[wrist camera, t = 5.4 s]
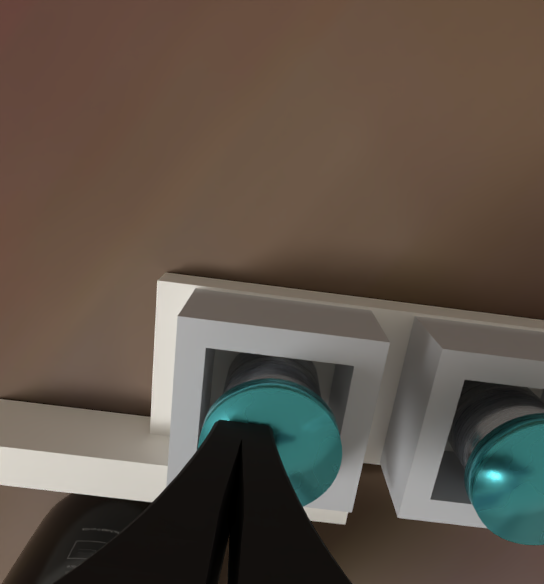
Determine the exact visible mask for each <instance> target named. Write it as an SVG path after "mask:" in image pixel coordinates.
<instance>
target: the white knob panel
mask: <svg viewBox="0 0 544 584" xmlns="http://www.w3.org/2000/svg"><path fill="white" fill-rule="evenodd" d="M240 352H244V353H252V354H260V355H268V356H277V357H285V358H293V359H301V360H309V361H312V362H313V364H314V366H315V368H316V371H317V375H318V381H319V387H320V393H321V398H322V399H323V400H324V401H325V403H326V404H327V405H328V406H329V408H330V409H331V411H332V413H333V415H334V416H335V419H336V422H337V425H338V429H339V434H340V439H341V444H342V462H341V466H340V470H339V472H338V474H337V477H336V479H335V480H334V482H333V483H332V485H331V486H330V487H329V488H328V490H327V491H326V492H325V493H324V494H322V495H321V496H320V497H319V498H317V499H316V500H314V501H313V502H311V503H309V504H307V505H306V506H303V508H304V510H305V512H306V514H307V516H308V518H309V519H310V521H318V522H326V523H335V524H344V525H345V524H346V519H347V515H348V512H351V513H352V510H353V505H354V501H355V496H356V492H357V487H358V483H359V479H360V474H361V470H362V465H363V463H368V464H377V465H381V468H382V471H383V474H384V477H385V480H386V483H387V486H388V489H389V492H390V495H391V498H392V501H393V505H394V508H395V511H396V514H397V517H398V518H403V519H412V520H420V521H429V522H438V523H446V524H455V525H463V526H472V527H481V528H487V527H486V526H485V525H484V524H483V522H482V521H481V519H480V518H479V516H478V514H477V513H476V511H475V509H474V507H473V505H472V503H471V502H470V500H469V498H468V495H467V493H466V489H465V484H464V473H465V469H464V467H463V466H462V464H461V462H460V461H459V459H458V457H457V455H456V454H455V452H454V450H453V449H452V447H451V445H450V444H449V442H448V440H447V439H448V436H449V432H450V429H451V425H452V422H453V418H454V415H455V411H456V408H457V404H458V401H459V398H460V394H461V391H462V387H463V384H464V380H472V381H480V382H488V383H496V384H504V385H513V386H521V387H528V388H529V389H530V390H531V391H532V392H533V393H534V394H535V395H537V396H538V397H539V398H540V399H541V400H542V401H543V402H544V320H539V319H531V318H523V317H515V316H507V315H500V314H492V313H484V312H476V311H468V310H460V309H452V308H444V307H436V306H428V305H420V304H412V303H404V302H396V301H389V300H381V299H373V298H365V297H357V296H349V295H341V294H333V293H325V292H317V291H309V290H301V289H293V288H285V287H278V286H270V285H262V284H254V283H246V282H238V281H230V280H222V279H214V278H206V277H198V276H190V275H182V274H174V273H167V272H165V273H164V274H163V275H162V276H161V277H160V278H159V279H158V280H157V300H156V320H155V340H154V360H153V380H152V400H151V417H147V416H139V415H131V414H122V413H114V412H105V411H97V410H89V409H80V408H72V407H64V406H55V405H47V404H38V403H30V402H22V401H13V400H5V399H0V485H6V486H15V487H24V488H32V489H41V490H50V491H58V492H67V493H76V494H84V495H93V496H102V497H110V498H119V499H128V500H136V501H145V502H153V501H154V500H155V499H156V498H157V497H158V496H159V495H160V494H161V492H162V491H163V490H164V489H165V488H166V487H167V486H168V485H169V484H170V483H171V482H172V480H173V479H174V478H175V477H176V476H177V475H178V474H179V473H180V471H181V470H182V469H183V468H184V466H185V465H186V464H187V463H188V461H189V460H190V459H191V458H192V456H193V455H194V454H195V452H196V451H197V450H198V443H199V437H200V434H201V430H202V427H203V423H204V420H205V417H206V415H207V413H208V411H209V409H210V408H211V407H212V405H213V404H214V402H215V401H216V400H217V399H218V398H219V397H220V396H221V395H222V394H223V390H224V386H225V382H226V378H227V373H228V370H229V367H230V365H231V363H232V362H233V360H234V359H235V357H236V356H237V355H238V354H239V353H240Z"/></svg>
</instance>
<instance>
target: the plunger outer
mask: <svg viewBox="0 0 544 584" xmlns="http://www.w3.org/2000/svg"><path fill="white" fill-rule="evenodd" d="M447 440H448V442H449V444H450V445H451V447H452V449H453V450H454V452H455V454H456V455H457V457H458V459H459V461H460V462H461V464H462V466H463V467H464V469H465V473H464V484H465V489H466V493H467V495H468V498H469V500H470V502H471V503H472V505H473V507H474V509H475V511H476V513H477V514H478V516H479V518H480V519H481V521H482V522H483V524H484V525H485V526H486V527H487V528H488V529H489V530H490V531H492V532H493V533H494V534H496V535H498V536H499V537H501V538H503V539H506V540H508V541H511V542H515V543H519V544H525V545H544V402H543V401H542V400H541V399H540V398H539V397H538V396H537V395H535V394H534V393H533V392H532V391H531V390H530V389H529V388H528V387H521V386H513V385H504V384H496V383H488V382H480V381H472V380H464V384H463V387H462V391H461V394H460V398H459V401H458V404H457V408H456V411H455V415H454V418H453V422H452V425H451V429H450V432H449V436H448V439H447Z"/></svg>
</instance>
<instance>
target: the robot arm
mask: <svg viewBox="0 0 544 584" xmlns="http://www.w3.org/2000/svg"><path fill="white" fill-rule="evenodd" d="M229 533H230V536H229ZM228 537H229V561H228V584H352V583H351V582H350V580H349V579H348V578H347V576H346V575H345V574H344V572H343V571H342V569H341V568H340V566H339V565H338V564H337V562H336V561H335V559H334V558H333V557H332V555H331V554H330V552H329V550H328V549H327V547H326V546H325V544H324V543H323V541H322V540H321V538H320V536H319V535H318V533H317V531H316V530H315V528H314V526H313V525H312V523H311V521H310V519H309V518H308V516H307V514H306V512H305V510H304V508H303V506H302V505H301V503H300V501H299V499H298V497H297V495H296V493H295V491H294V488H293V486H292V484H291V482H290V479H289V477H288V475H287V473H286V470H285V468H284V466H283V463H282V460H281V458H280V455H279V452H278V449H277V446H276V443H275V439H274V435H273V430H272V429H271V428H270V426H268V425H260V424H252V423H244V422H236V421H228V420H220V419H219V420H218V421H216V422H215V423H214V425H213V427H212V429H211V430H210V432H209V434H208V435H207V437H206V438H205V440H204V441H203V443H202V444H201V446H200V447H199V448H198V450H197V451H196V452H195V454H194V455H193V456H192V458H191V459H190V460H189V461H188V463H187V464H186V465H185V466H184V468H183V469H182V470H181V471H180V473H179V474H178V475H177V476H176V477H175V478H174V479H173V480H172V482H171V483H170V484H169V485H168V486H167V487H166V488H165V489H164V490H163V491H162V492H161V494H160V495H159V496H158V497H157V498H156V499H155V500H154V501H153V502H152V503H151V504H150V505H149V506H148V507H147V508H146V509H145V510H144V511H143V512H142V513H141V514H140V515H139V516H137V517H136V518H135V519H134V520H133V521H132V522H131V523H130V524H129V525H128V526H126V527H125V528H124V529H123V530H122V531H121V532H119V533H118V534H117V535H116V536H115V537H113V538H112V539H111V540H110V541H109V542H107V543H106V544H105V545H104V546H103V547H101V548H100V549H99V550H98V551H96V552H95V553H94V554H93V555H91V556H90V557H89V558H87V559H86V560H85V561H83V562H82V563H81V564H79V565H78V566H76V567H75V568H74V569H72V570H71V571H69V572H68V573H66V574H65V575H63V576H62V577H61V578H59V579H58V580H56V581H55V582H53V583H52V584H218V581H219V576H220V572H221V568H222V563H223V559H224V555H225V550H226V546H227V542H228Z"/></svg>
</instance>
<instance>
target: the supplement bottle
mask: <svg viewBox="0 0 544 584" xmlns="http://www.w3.org/2000/svg"><path fill="white" fill-rule="evenodd" d="M151 503H152V502H145V501H136V500H128V499H119V498H110V497H102V496H93V495H84V494H76V493H72V494H70V495H69V496H67V497H65V498H64V499H62V500H61V501H60V502H58V503H57V504H56V505H55V506H54V507H53V508H52V509H51V510H50V511H49V513H48V514H47V515H46V516H45V518H44V519H43V521H42V522H41V524H40V525H39V527H38V528H37V530H36V531H35V533H34V534H33V536H32V537H31V539H30V540H29V542H28V543H27V545H26V546H25V548H24V550H23V551H22V553H21V554H20V556H19V557H18V559H17V561H16V562H15V564H14V565H13V567H12V568H11V570H10V572H9V573H8V575H7V576H6V578H5V579H4V581H3V583H2V584H52V583H53V582H55V581H56V580H58V579H59V578H61V577H62V576H63V575H65V574H66V573H68V572H69V571H71V570H72V569H74V568H75V567H76V566H78V565H79V564H81V563H82V562H83V561H85V560H86V559H87V558H89V557H90V556H91V555H93V554H94V553H95V552H96V551H98V550H99V549H100V548H101V547H103V546H104V545H105V544H106V543H107V542H109V541H110V540H111V539H112V538H113V537H115V536H116V535H117V534H118V533H119V532H121V531H122V530H123V529H124V528H125V527H126V526H128V525H129V524H130V523H131V522H132V521H133V520H134V519H135V518H136V517H137V516H139V515H140V514H141V513H142V512H143V511H144V510H145V509H146V508H147V507H148V506H149V505H150V504H151Z"/></svg>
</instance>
